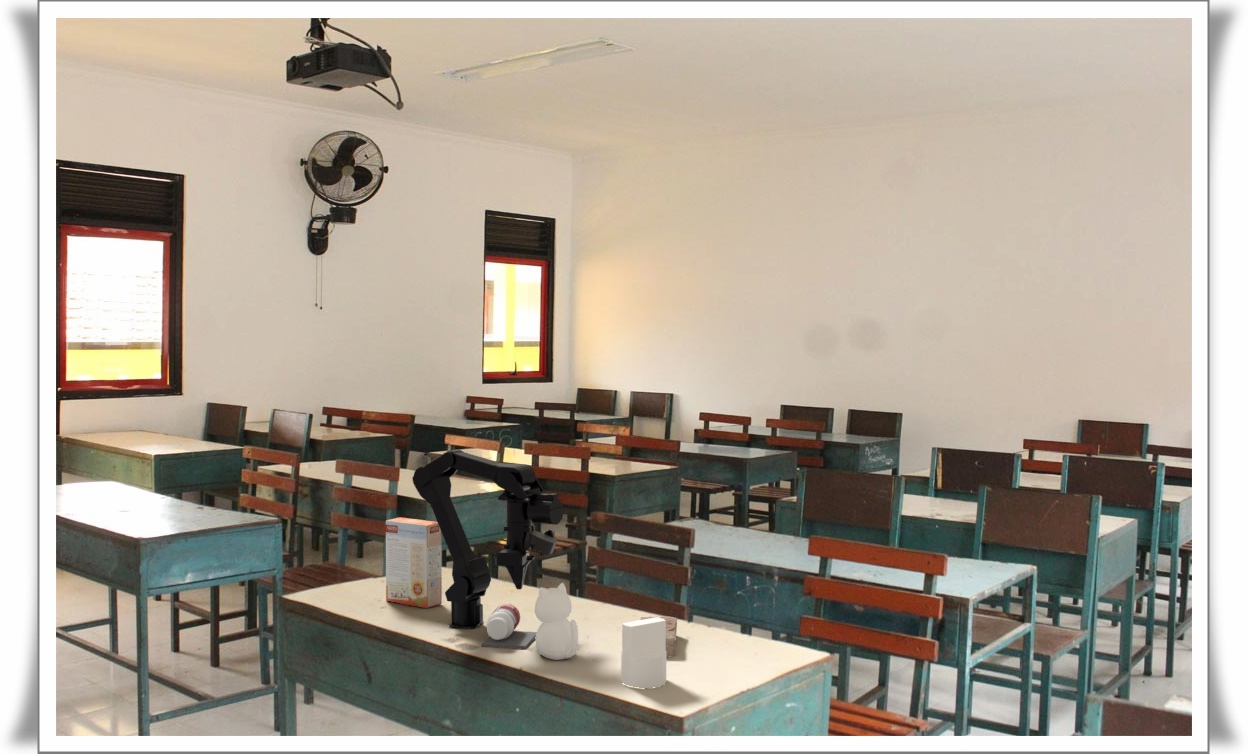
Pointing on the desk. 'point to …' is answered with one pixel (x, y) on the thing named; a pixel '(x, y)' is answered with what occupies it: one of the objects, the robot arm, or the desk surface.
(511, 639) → the mat
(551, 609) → the cat figurine
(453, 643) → the desk surface
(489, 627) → the pill bottle
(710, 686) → the desk surface
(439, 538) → the cracker box
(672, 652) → the brick
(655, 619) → the base with upright slab
